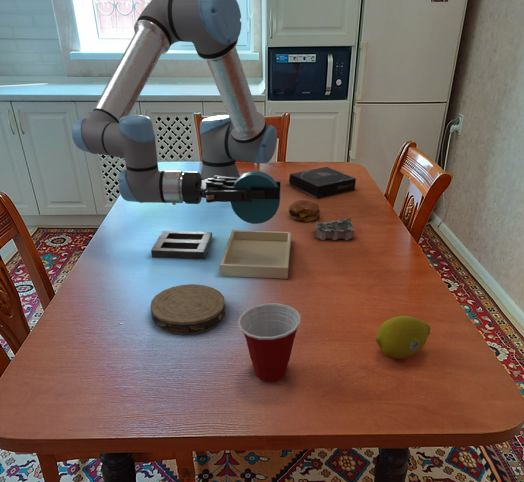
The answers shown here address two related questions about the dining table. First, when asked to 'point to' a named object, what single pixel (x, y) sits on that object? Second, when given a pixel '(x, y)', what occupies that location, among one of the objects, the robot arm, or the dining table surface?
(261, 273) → the tray
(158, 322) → the wood log slice
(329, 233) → the egg carton
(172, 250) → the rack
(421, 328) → the lemon
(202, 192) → the robot arm
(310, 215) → the burger
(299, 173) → the black box
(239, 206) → the disc
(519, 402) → the dining table surface
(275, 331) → the plastic cup
